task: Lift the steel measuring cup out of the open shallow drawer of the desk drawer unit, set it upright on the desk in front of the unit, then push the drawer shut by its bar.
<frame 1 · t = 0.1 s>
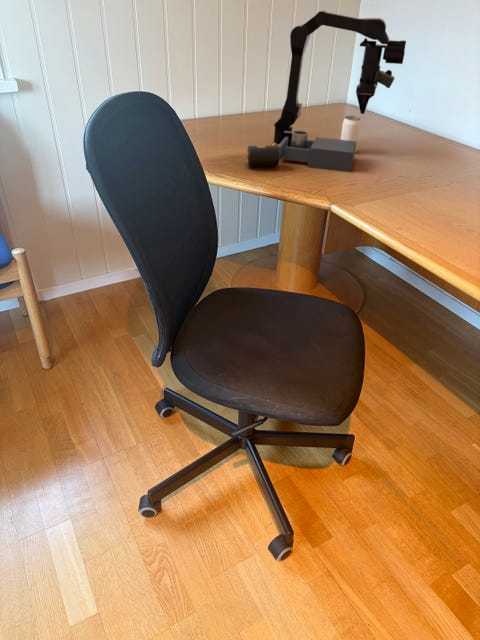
hand: (363, 110, 175), 15 cm above the table, tool pointing down, fingers open, 9 cm apart
can: (347, 151, 184), on the table
cabinet: (331, 163, 172), on the table
drawer: (294, 149, 173), point 3 cm above the table, slide at 10.0 cm, touching measuring cup
end cap: (262, 167, 167), on the table
measuring cup: (298, 153, 174), point 2 cm above the table, touching drawer
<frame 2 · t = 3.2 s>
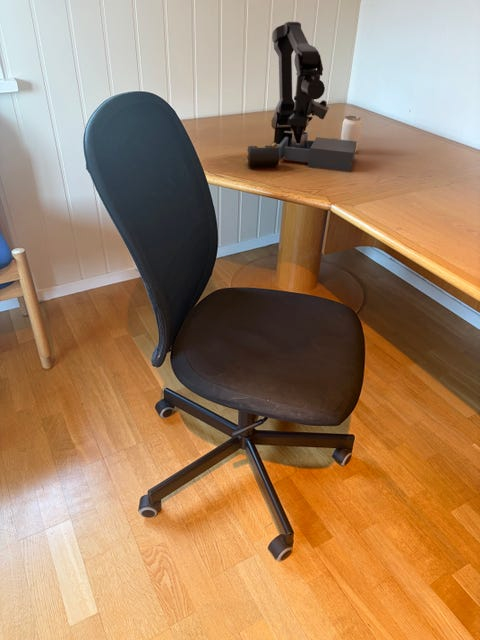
hand: (299, 141, 171), 6 cm above the table, tool pointing down, fingers closed on measuring cup, 5 cm apart
measuring cup: (298, 153, 174), point 2 cm above the table, touching drawer, gripper
everything else where it was.
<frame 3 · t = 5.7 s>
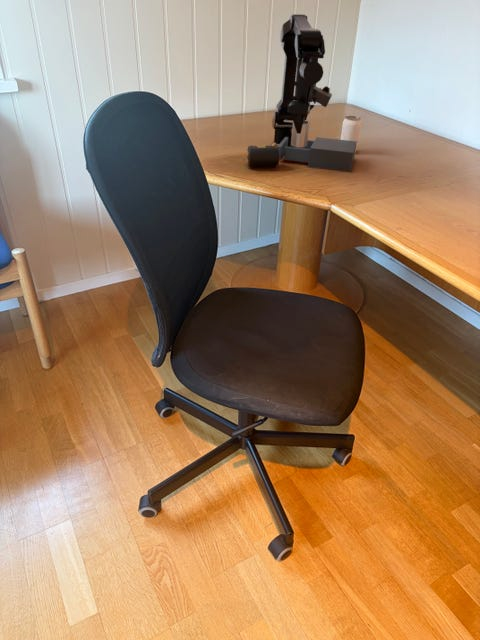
hand: (300, 131, 157), 13 cm above the table, tool pointing down, fingers closed on measuring cup, 5 cm apart
drawer: (294, 149, 173), point 3 cm above the table, slide at 10.0 cm
measuring cup: (299, 145, 160), point 8 cm above the table, touching gripper
everything else where it was.
when the fingers open (4 cm above the table, at t = 8.2 s): measuring cup stays where it is, on the table.
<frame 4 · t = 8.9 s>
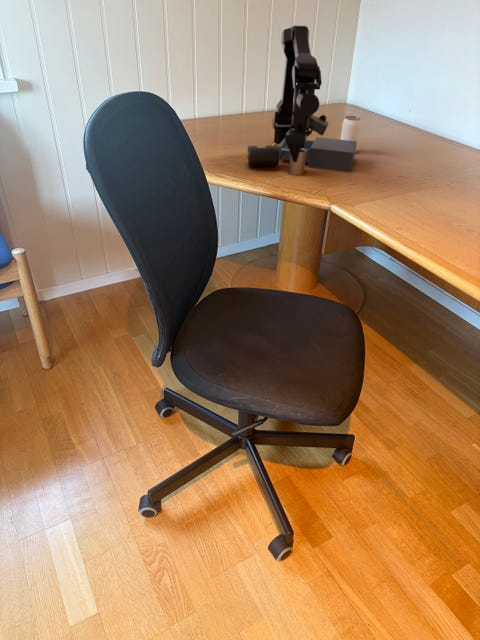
hand: (297, 157, 161), 5 cm above the table, tool pointing down, fingers open, 9 cm apart
measuring cup: (296, 172, 164), on the table
everything else where it was.
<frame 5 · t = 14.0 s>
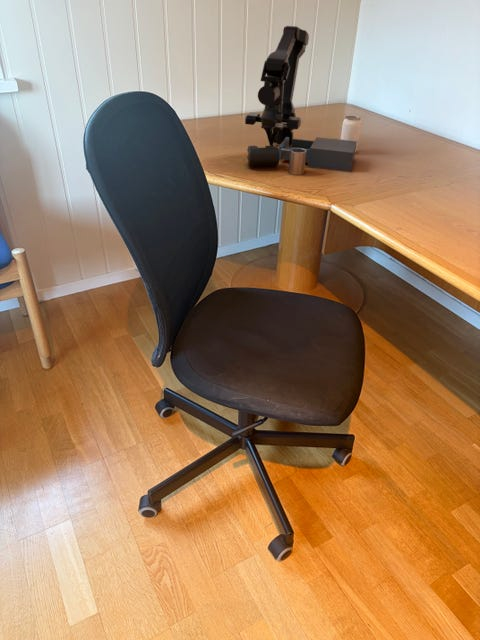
hand: (271, 146, 175), 4 cm above the table, tool pointing down, fingers closed
drawer: (295, 149, 173), point 3 cm above the table, slide at 9.7 cm, touching gripper
everything else where it was.
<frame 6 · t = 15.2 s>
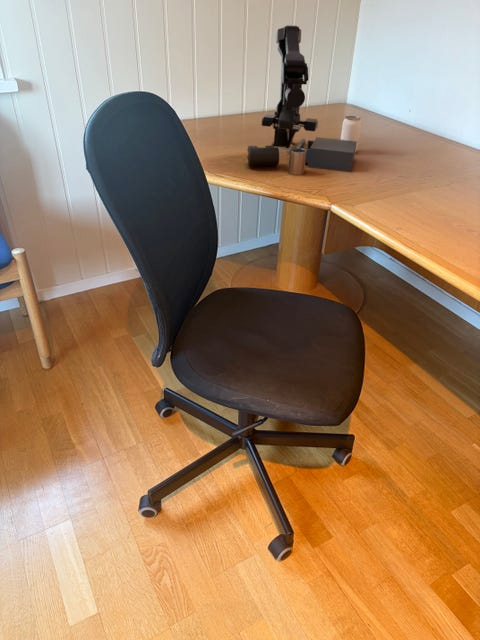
hand: (287, 147, 174), 4 cm above the table, tool pointing down, fingers closed
drawer: (312, 151, 172), point 3 cm above the table, slide at 3.7 cm, touching gripper
everything else where it was.
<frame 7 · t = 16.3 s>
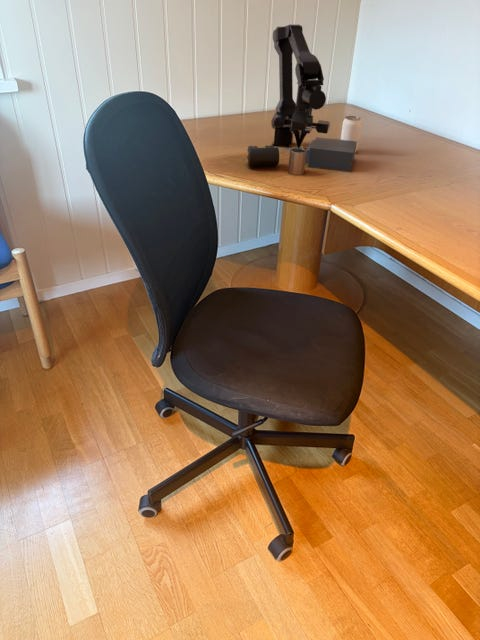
hand: (298, 149, 173), 4 cm above the table, tool pointing down, fingers closed, pressing on drawer
drawer: (322, 152, 171), point 3 cm above the table, slide at 0.0 cm, touching cabinet, gripper
everything else where it was.
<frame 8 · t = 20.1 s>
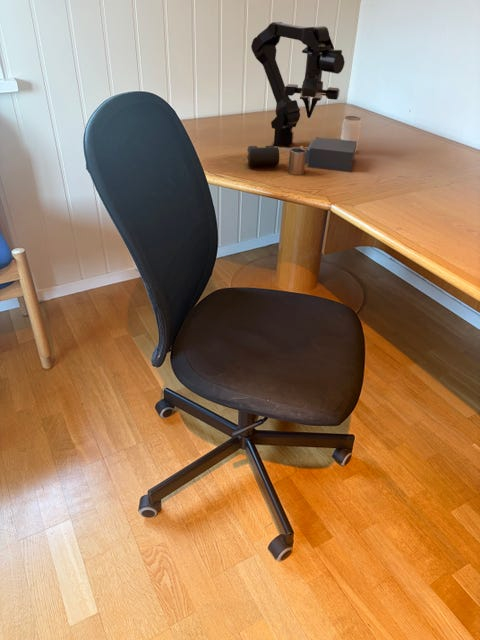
hand: (309, 117, 176), 12 cm above the table, tool pointing down, fingers closed
drawer: (322, 152, 171), point 3 cm above the table, slide at 0.0 cm, touching cabinet
everything else where it was.
at the end: measuring cup inside the target area (0.1 cm from its centre), on the table; measuring cup tilted 0°; drawer slide at 0.0 cm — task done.
